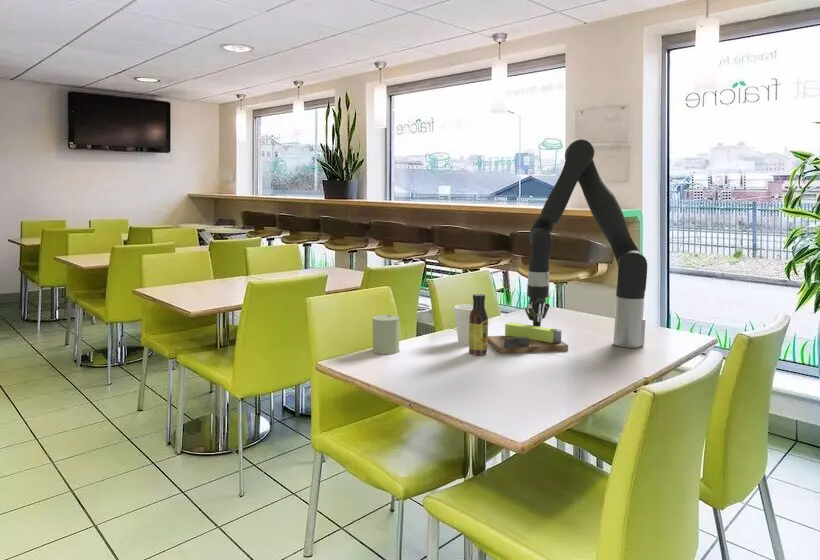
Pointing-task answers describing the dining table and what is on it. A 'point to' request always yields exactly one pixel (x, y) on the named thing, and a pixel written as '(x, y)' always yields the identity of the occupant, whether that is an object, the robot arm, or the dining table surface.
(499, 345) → the board
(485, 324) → the sauce bottle
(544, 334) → the yellow-green long bar
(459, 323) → the foam cup
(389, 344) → the can
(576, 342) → the dining table surface
